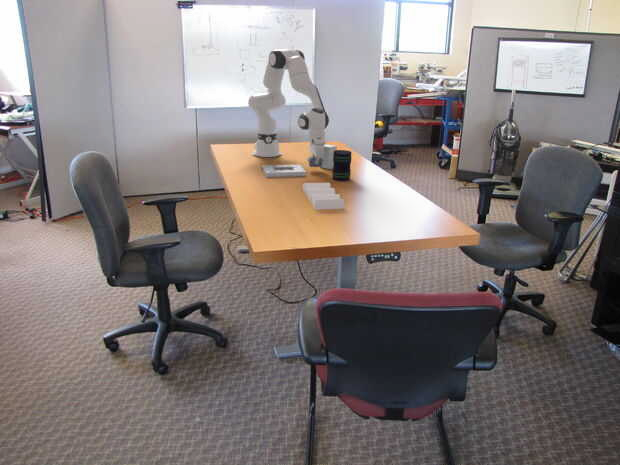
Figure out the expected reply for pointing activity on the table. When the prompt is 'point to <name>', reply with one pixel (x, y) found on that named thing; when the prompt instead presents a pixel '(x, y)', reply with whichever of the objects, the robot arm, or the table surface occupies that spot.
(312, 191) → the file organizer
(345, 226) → the table surface
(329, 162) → the small box
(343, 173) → the dark ribbed barrel
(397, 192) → the table surface
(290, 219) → the table surface
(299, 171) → the chassis
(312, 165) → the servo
